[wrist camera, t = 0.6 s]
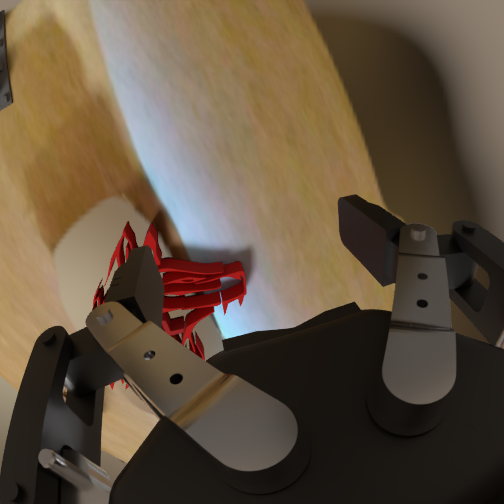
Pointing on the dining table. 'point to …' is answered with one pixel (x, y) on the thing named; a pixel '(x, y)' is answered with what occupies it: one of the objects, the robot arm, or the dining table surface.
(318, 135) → the dining table surface
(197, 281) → the decorative sculpture
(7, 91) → the tray
